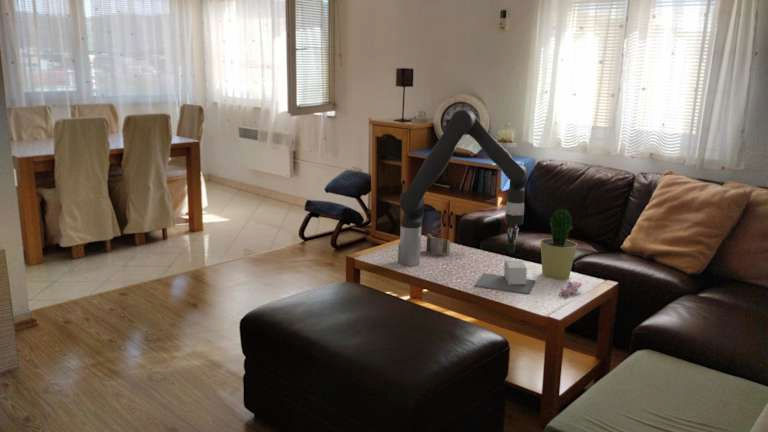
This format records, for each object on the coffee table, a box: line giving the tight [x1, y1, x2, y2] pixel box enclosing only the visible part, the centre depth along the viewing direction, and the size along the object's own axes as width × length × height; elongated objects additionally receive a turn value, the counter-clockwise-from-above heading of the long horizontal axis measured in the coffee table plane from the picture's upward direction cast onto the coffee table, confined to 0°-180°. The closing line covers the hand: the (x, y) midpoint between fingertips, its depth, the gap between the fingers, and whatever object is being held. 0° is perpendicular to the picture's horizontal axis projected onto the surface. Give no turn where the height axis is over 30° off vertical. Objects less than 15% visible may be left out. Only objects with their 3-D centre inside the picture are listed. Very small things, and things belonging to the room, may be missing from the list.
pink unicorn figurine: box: [558, 281, 583, 298], centre depth 251 cm, size 6×6×15 cm
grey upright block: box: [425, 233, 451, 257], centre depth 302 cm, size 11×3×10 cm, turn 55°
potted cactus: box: [539, 208, 578, 281], centre depth 271 cm, size 15×15×30 cm
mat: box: [473, 272, 536, 295], centre depth 260 cm, size 22×18×1 cm
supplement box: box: [503, 259, 528, 285], centre depth 263 cm, size 7×7×13 cm
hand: (511, 252), depth 267 cm, fingers closed
